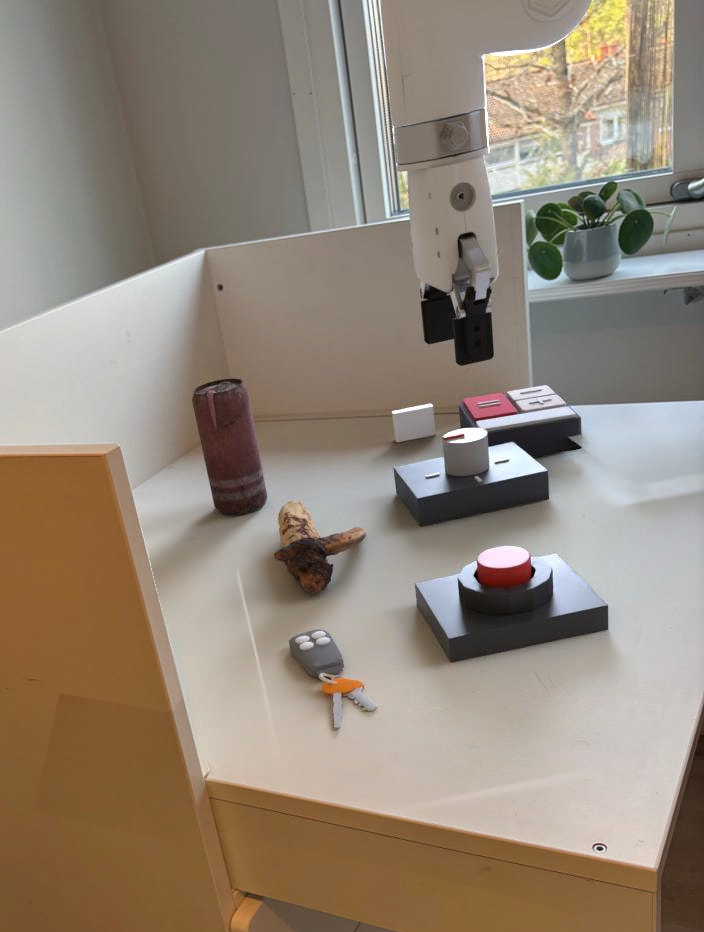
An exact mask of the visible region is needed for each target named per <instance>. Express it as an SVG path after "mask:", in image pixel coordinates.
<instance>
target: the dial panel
mask: <svg viewBox="0 0 704 932" xmlns="http://www.w3.org/2000/svg"><path fill="white" fill-rule="evenodd" d="M488 450H489V468H488V469H487V470H486V471H484V472H482V473H479V474H475V475H470V476H453V475H449V474H447V473H446V472H445V464H444V456H440V457H435V458H430V459H426V460H421V461H418V462H417V461H416V462H412V463H408V464H403V465H398V466H393V468H392V469H393V477H394V484H395V485H394V486H395V494H396V495H397V496H398V498H399V499H400V500H401V502H402V503H403V504H404V506H405V507H406V509H407V510H408V511H409V513H410V515H411V516H412V517H413V519H414V520H415V521H416V523H417V524H418V525H419V527H424V525H425V526H428V525H433V523H434V524H438V523H437V522H439V523H442V522H443V523H444V522H447V520H448V521H453V520H456V519H462V518H466V517H472V516H475V515H480V514H481V515H482V514H485V513H490V512H494V511H500V510H504V509H509V508H512V507H518V506H523V505H527V504H532V503H536V502H542V501H546V500H550V483H549V482H550V481H549V480H550V479H549V478H550V477H549V470H548V469H547V468H546V467H544V466H543V465H542V464H541V463H540V462H538V461H537V460H536V459H535V458H534V457H531V456H530V455H528V454H527V453H526V452H525V451H524V450H522V449H521V448H520V447H519V446H517V445H516V444H515V443H514V442H510V443H505V444H500V445H496V446H491V447H488Z"/></svg>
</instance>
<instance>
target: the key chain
mask: <svg viewBox="0 0 704 932" xmlns="http://www.w3.org/2000/svg"><path fill="white" fill-rule="evenodd" d="M288 645H289V646H288V647H289V651H290V653H291V654H292V655H293V656H294V658H295V659H296V660H297V662H298V663H299V664H300V665H301V667H303V669H304V670H305V671H306V672H307V674H308V675H310V676H311V677H314V678H318V679H320V680H321V682H323V683H322V685H321V690H322V693H324V694H325V695H331V696H332V703H333V705H332V715H333V723H334V724H333V725H334V729H335V730H337V729H339V730H340V729H341V724H342V719H343V712H342V707H343V701H342V698H343V697H347V698H349V700H350V699H351V700H353V703H354V705H358V706H359V707H363V708H362V710H363V711H367V712H373V711H375V710H377V709H378V707H379V706H378V705H377V704H375V703H374V702H373V701H372V700H371V699H370V698H368V697H367V696H366V694H364V693H363V692H362V691H363V689H365V685H364V684H363V682H361V681H360V680H357V679H350V678H345V677H344V676H342V675H341V674H340V673H341V672H344V668H345V663H344V657H343V654H342V653H341V651H340V649H339V647H338V646H337V644H336V642H335V641H334V639H333V637H332V635H331V634H330V632H328V631H327V630H325V629H312V630H309V631H305V632H303V633H299V634H296V635H294V636H293V637H291V638H290V639H289V640H288ZM328 678H330V679H328Z"/></svg>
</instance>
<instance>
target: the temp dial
mask: <svg viewBox="0 0 704 932" xmlns="http://www.w3.org/2000/svg"><path fill="white" fill-rule="evenodd" d="M441 440H442V451H443V457H444V464H445V472H446V473H447V474H449V475H453V476H470V475H475V474H479V473H482V472H484V471H486V470H487V469H488V468H489V450H488V435H487V431H486V430H484V429H479V428H464V429H462V428H460V429H455V430H452V431H449V432H447V433H445V434H443V435H442V438H441Z"/></svg>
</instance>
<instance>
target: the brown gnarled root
mask: <svg viewBox="0 0 704 932" xmlns="http://www.w3.org/2000/svg"><path fill="white" fill-rule="evenodd" d="M277 521H278V522H277V523H278V526H279V527H278V534H279V539H280V546H281V548H279V549H278V550H277V551H276V552H274V559H275V560H276V561H279V562H284V565H285V566H286V568H287V571H288V573H289V574H290V575H291V576H292V577H293V578H294V580H296V581H297V582H300V585H301V586H302V589H303V590H305V591H307V592H308V593H311V594H318V593H320V592H322V591H325V590H326V589H327V587H328V585H329V584H330V583H331V581H332V576H333V572H334V564H333V563H329V561H328V560H329V559H327V557H330V556H335V555H338V554H340V553H343V552H346V551H349V550H350V549H353V548H354V547H355V548H356V547H357V546H358V545H360V544H361V543H362V542H363V541H364V539H365V538H366V536H367V531H366V530H365V529H364V528H362V527H358V526H356V527H353V528H351V529H348V530H346V531H343V532H339V533H332V534H329V535H326V536H323V537H321V536H320V535H319V533H318V531H317V528H316V527H315V524H314V523H315V522H314V521H313V519H312V517H311V515H310V513H309V511H308V510H307V508H306V507H305V506H304V503H302V502H300V501H298V500H292V501H288V502H287V503H285V504H283V506H282V507H281V509H279V512H278V518H277Z"/></svg>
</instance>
